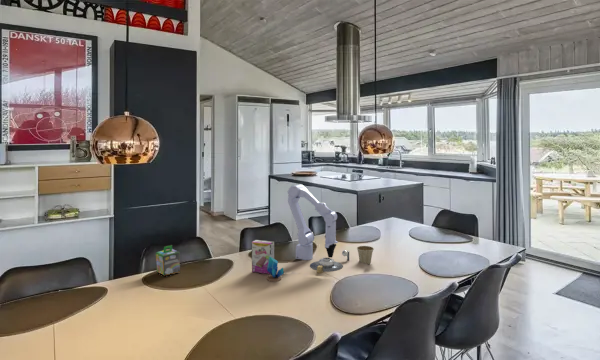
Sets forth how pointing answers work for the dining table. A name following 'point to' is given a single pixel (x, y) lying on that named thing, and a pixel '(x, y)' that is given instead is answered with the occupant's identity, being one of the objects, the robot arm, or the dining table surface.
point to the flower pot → (365, 254)
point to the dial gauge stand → (346, 254)
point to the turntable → (320, 268)
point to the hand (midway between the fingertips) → (330, 257)
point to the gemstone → (274, 270)
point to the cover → (326, 262)
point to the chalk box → (168, 261)
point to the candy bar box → (261, 255)
